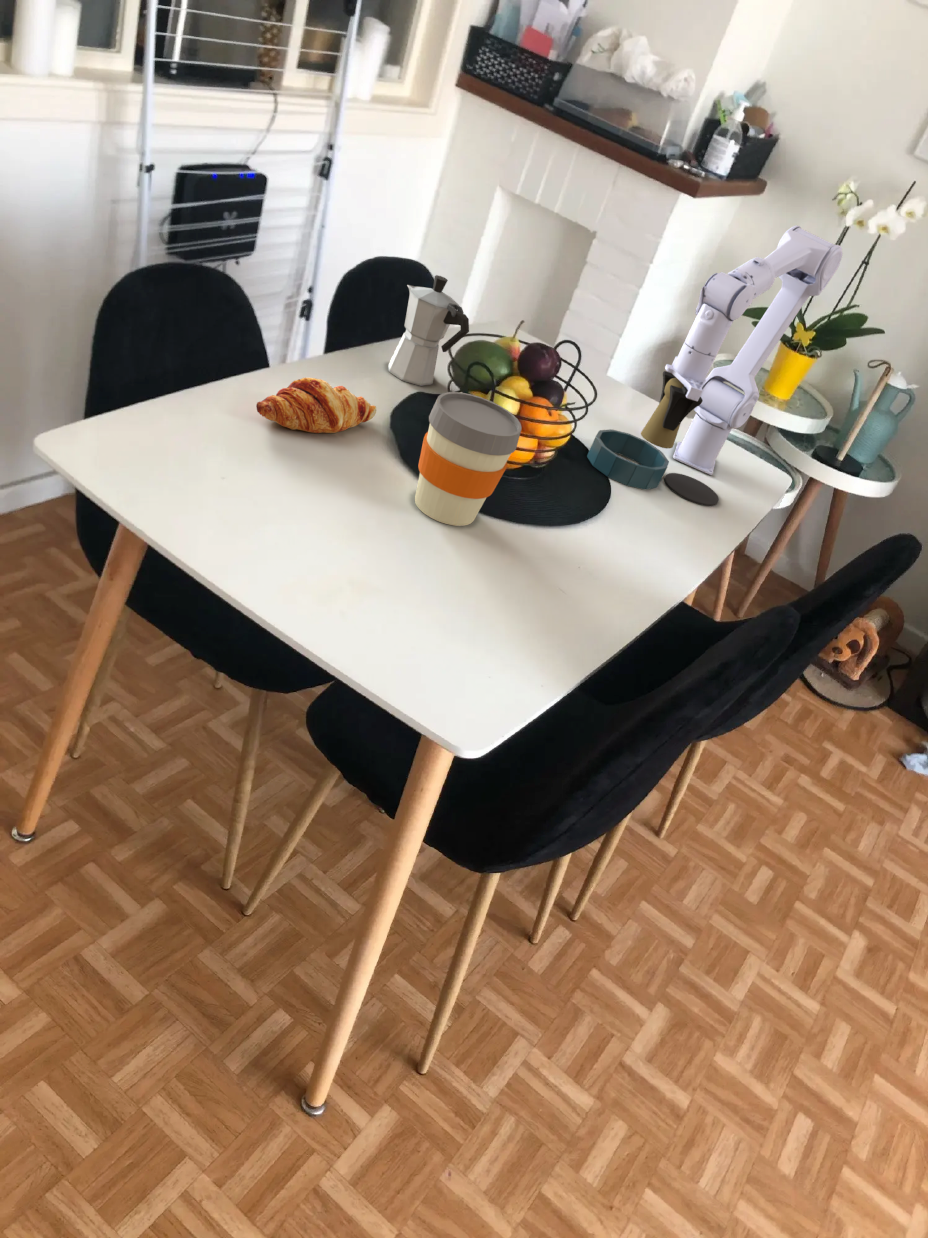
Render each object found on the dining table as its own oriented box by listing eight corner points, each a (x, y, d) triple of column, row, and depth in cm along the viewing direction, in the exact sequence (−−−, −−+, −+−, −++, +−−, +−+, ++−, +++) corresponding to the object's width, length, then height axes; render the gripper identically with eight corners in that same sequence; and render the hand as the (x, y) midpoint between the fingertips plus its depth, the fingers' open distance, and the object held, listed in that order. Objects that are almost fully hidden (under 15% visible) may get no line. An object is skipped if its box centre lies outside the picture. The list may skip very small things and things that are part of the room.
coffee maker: (369, 359, 179) (398, 260, 170) (401, 356, 186) (430, 261, 176) (429, 399, 173) (462, 299, 164) (460, 394, 180) (494, 298, 170)
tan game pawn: (672, 452, 172) (701, 393, 166) (640, 439, 172) (667, 380, 166) (673, 439, 177) (701, 382, 171) (641, 426, 177) (668, 369, 171)
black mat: (667, 468, 184) (668, 466, 184) (719, 492, 184) (720, 490, 183) (660, 488, 176) (661, 486, 175) (715, 512, 175) (716, 510, 175)
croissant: (355, 430, 161) (354, 379, 160) (396, 432, 154) (396, 379, 153) (240, 432, 147) (238, 376, 145) (280, 434, 140) (278, 375, 138)
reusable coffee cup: (435, 477, 149) (468, 385, 141) (502, 520, 145) (539, 428, 137) (384, 495, 140) (416, 397, 132) (455, 541, 135) (492, 443, 128)
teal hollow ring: (595, 441, 183) (603, 422, 181) (662, 471, 182) (672, 452, 180) (581, 465, 172) (590, 444, 170) (653, 497, 171) (663, 477, 169)
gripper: (670, 326, 170) (637, 398, 178) (686, 355, 158) (650, 432, 166) (708, 339, 172) (674, 410, 179) (727, 369, 160) (689, 444, 167)
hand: (665, 421), depth 172 cm, fingers closed on tan game pawn, 5 cm apart
